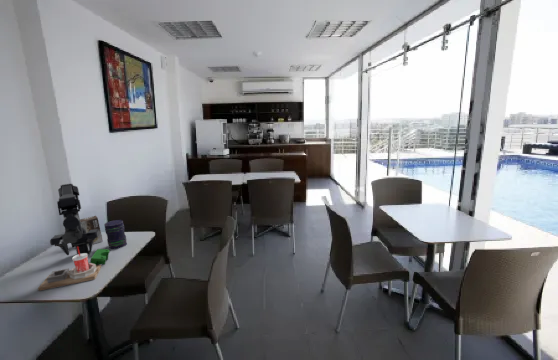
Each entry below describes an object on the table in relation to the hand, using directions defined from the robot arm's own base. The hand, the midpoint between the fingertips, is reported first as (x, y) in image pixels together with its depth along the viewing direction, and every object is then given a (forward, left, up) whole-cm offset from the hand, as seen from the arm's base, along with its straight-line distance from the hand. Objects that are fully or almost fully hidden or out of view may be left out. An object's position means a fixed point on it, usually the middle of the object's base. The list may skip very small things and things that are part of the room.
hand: (79, 253), depth 132 cm
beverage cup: (+1, 0, -11) cm, 11 cm away
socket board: (+1, -5, -12) cm, 13 cm away
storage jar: (-31, +9, -12) cm, 35 cm away
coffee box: (-44, -7, -12) cm, 46 cm away
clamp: (-11, +5, -12) cm, 17 cm away
